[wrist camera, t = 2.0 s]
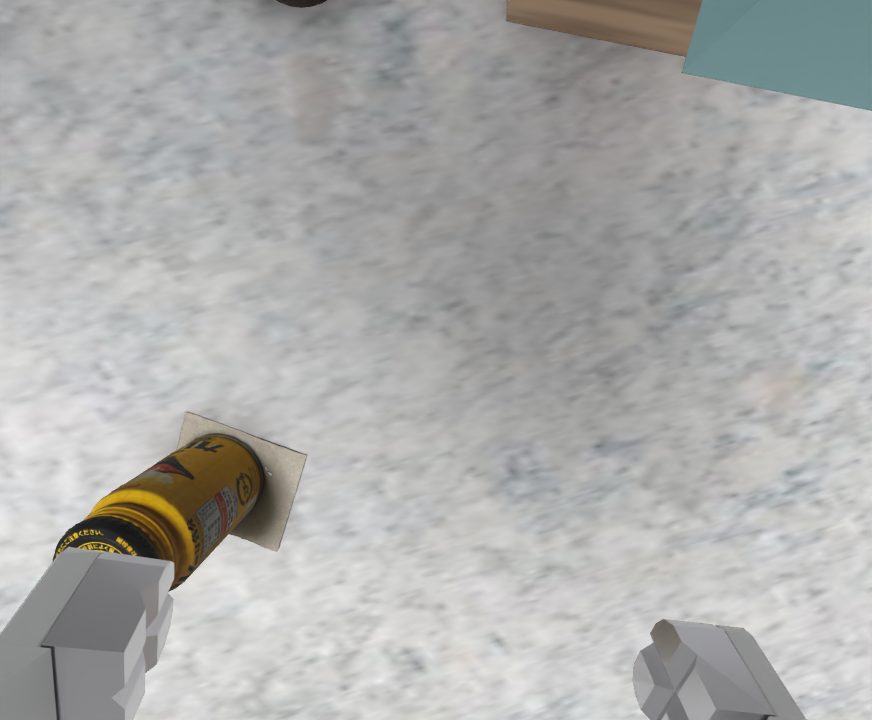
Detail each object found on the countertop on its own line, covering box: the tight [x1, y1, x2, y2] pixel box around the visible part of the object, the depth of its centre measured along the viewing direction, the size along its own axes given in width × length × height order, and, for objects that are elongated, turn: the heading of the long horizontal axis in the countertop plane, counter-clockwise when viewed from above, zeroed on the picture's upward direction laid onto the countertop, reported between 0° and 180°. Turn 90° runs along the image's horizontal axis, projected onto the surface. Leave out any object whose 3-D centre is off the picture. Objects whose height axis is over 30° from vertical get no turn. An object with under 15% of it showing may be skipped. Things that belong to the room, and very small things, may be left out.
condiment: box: [53, 412, 306, 592], centre depth 32 cm, size 7×8×12 cm
